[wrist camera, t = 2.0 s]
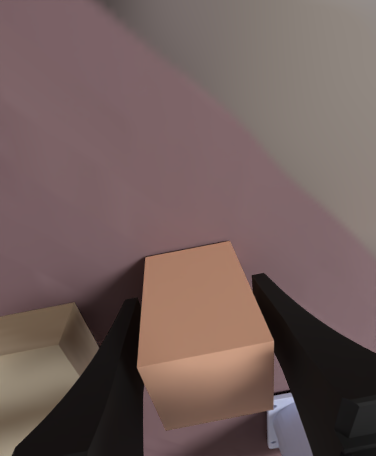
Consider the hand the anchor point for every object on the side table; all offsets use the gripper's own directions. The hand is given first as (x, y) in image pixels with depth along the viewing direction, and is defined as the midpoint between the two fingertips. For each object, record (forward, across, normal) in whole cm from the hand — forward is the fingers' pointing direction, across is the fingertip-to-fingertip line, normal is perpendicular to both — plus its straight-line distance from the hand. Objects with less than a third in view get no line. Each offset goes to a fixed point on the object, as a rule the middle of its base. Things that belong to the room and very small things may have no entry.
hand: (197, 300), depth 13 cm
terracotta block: (+2, 0, 0) cm, 2 cm away
